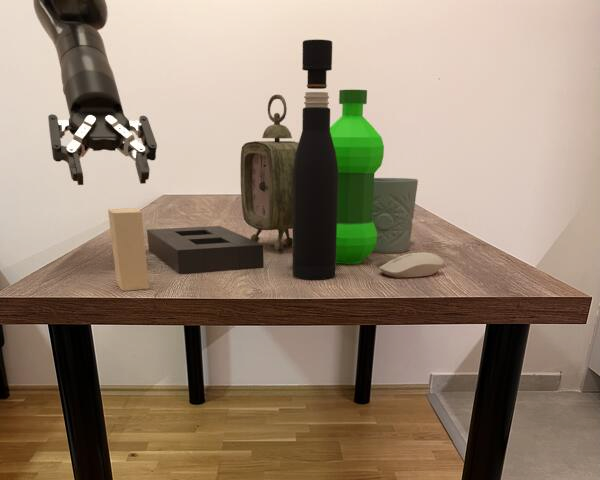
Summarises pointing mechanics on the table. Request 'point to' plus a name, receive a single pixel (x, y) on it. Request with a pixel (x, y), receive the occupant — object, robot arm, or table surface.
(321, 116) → the black insulated flask
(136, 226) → the tan wooden block
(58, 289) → the table surface
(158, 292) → the table surface
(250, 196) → the tabletop clock
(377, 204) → the drinking glass
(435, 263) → the computer mouse
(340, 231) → the plastic bottle
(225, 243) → the base
